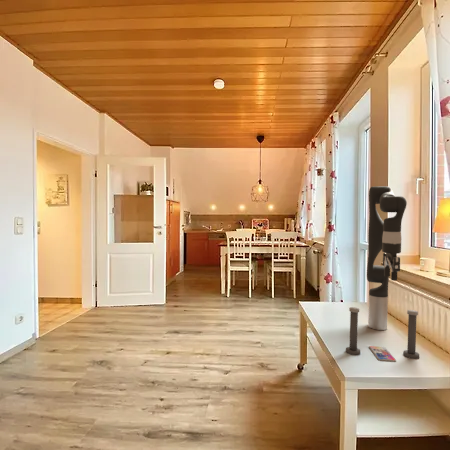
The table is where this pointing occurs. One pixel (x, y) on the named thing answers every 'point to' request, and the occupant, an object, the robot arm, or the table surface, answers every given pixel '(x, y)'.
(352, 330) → the knob
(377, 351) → the smartphone
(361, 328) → the table surface
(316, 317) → the table surface
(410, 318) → the post
